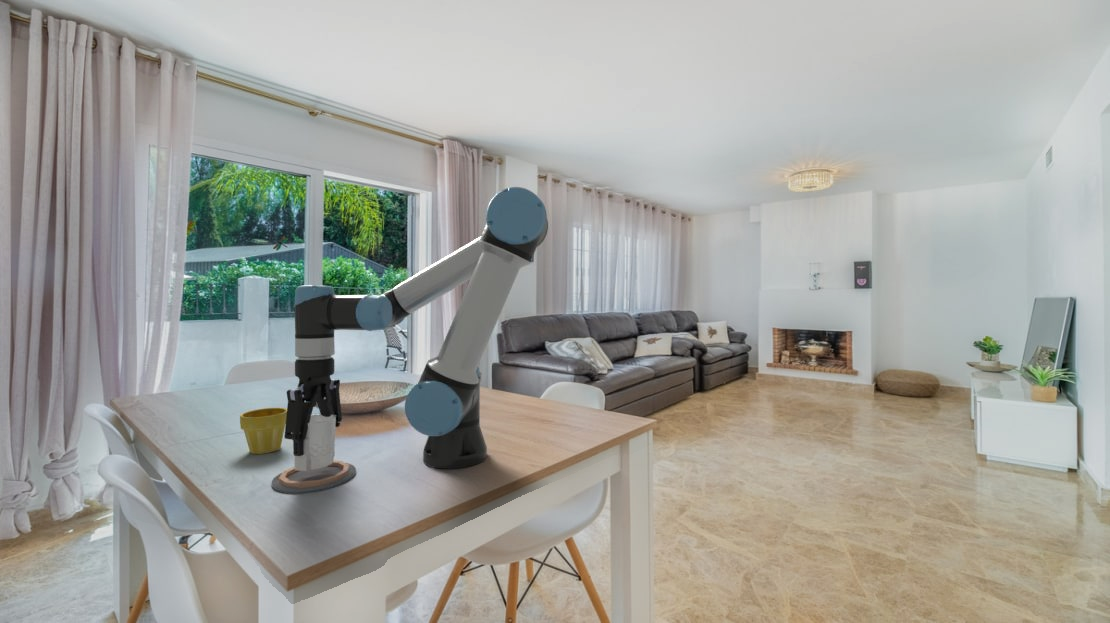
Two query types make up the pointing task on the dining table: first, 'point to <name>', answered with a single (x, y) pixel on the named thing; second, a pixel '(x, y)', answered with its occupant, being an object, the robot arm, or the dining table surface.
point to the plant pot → (264, 429)
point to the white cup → (321, 440)
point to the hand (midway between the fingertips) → (315, 462)
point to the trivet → (313, 478)
